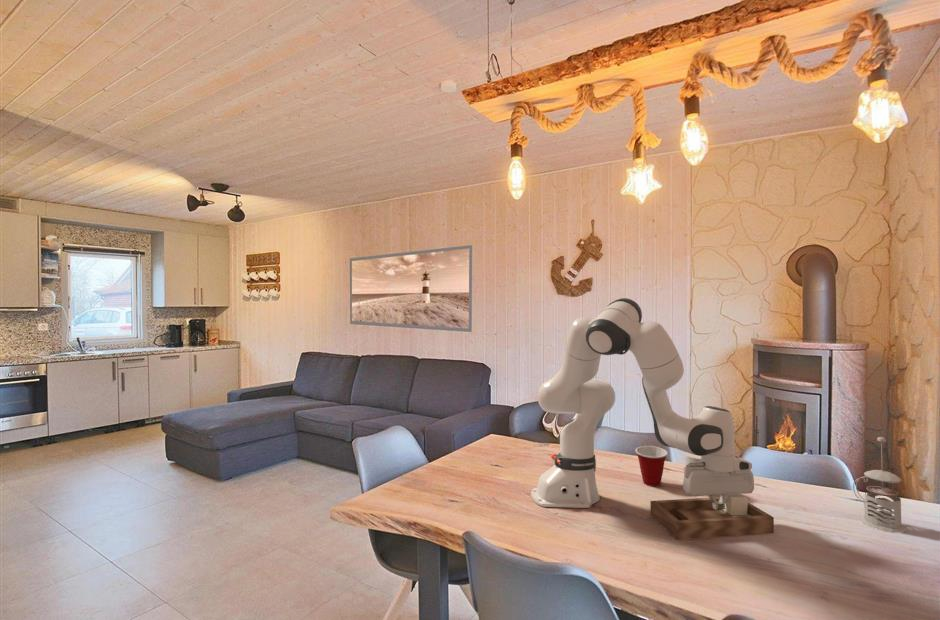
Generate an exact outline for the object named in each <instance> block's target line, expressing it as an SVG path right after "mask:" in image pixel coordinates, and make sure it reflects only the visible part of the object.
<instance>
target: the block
mask: <svg viewBox="0 0 940 620" xmlns="http://www.w3.org/2000/svg"><path fill="white" fill-rule="evenodd" d="M728 496H729V498H728V500H727V501H726V503H725V509H722V510H724V511H725V512H727V513H728V514H730V515H747V506H748V503H749V500H748V499H749V498H748V497H746V496H745V495H744V494H728Z"/></svg>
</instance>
